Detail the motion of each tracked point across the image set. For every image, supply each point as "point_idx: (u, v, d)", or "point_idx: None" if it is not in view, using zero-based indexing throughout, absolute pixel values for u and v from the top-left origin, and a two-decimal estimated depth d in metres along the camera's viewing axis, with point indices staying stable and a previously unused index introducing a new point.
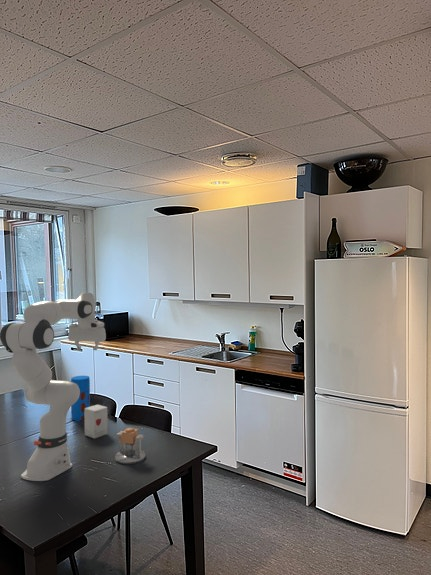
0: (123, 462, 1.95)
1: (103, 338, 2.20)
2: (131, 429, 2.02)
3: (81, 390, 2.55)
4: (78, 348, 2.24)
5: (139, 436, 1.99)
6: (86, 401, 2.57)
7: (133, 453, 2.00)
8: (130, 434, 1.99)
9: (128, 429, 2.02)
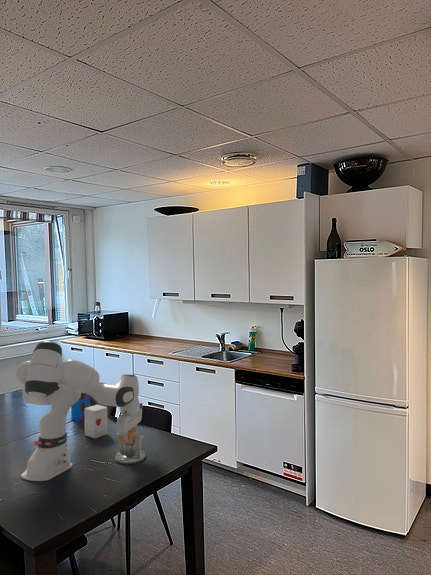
0: (123, 462, 1.95)
1: None
2: (131, 429, 2.02)
3: None
4: (128, 438, 1.98)
5: (139, 436, 1.99)
6: (86, 401, 2.57)
7: (133, 453, 2.00)
8: (130, 434, 1.99)
9: None
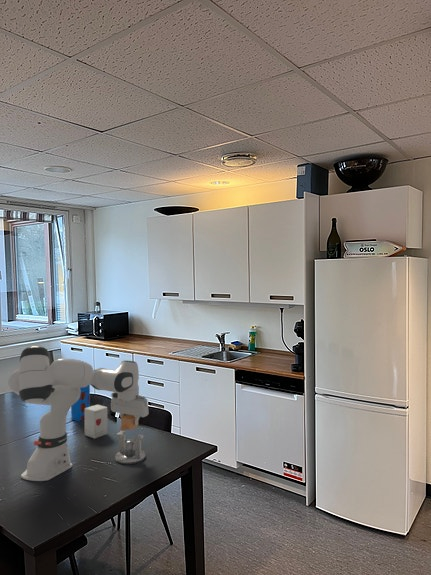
0: (123, 462, 1.95)
1: None
2: (130, 415, 2.02)
3: (81, 390, 2.55)
4: None
5: (139, 436, 1.99)
6: (86, 401, 2.57)
7: (133, 453, 2.00)
8: None
9: (129, 416, 2.01)
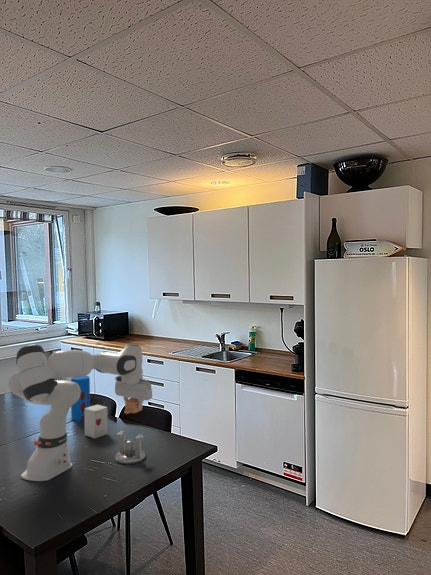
0: (123, 462, 1.95)
1: None
2: (134, 398, 2.03)
3: (81, 390, 2.55)
4: None
5: (139, 436, 1.99)
6: (86, 401, 2.57)
7: (133, 453, 2.00)
8: None
9: (133, 399, 2.01)
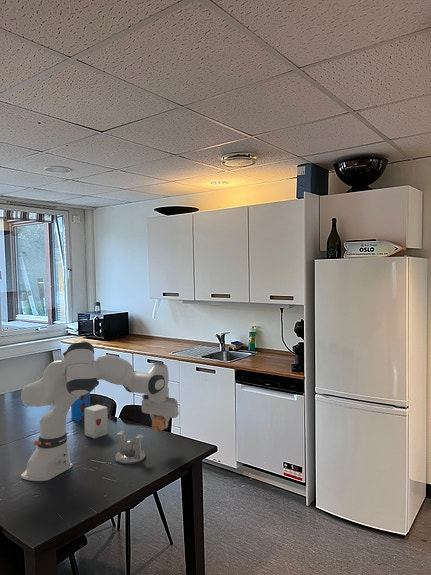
0: (123, 462, 1.95)
1: None
2: None
3: None
4: None
5: (139, 436, 1.99)
6: (86, 401, 2.57)
7: (133, 453, 2.00)
8: None
9: (159, 416, 2.09)
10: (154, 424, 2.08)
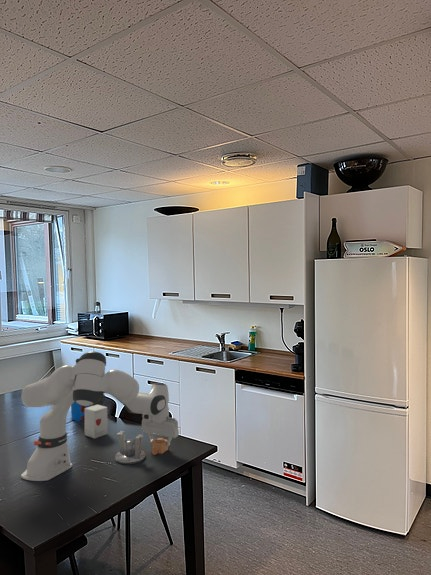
0: (123, 462, 1.95)
1: None
2: (160, 439, 2.11)
3: None
4: None
5: (139, 436, 1.99)
6: None
7: (133, 453, 2.00)
8: None
9: (159, 440, 2.10)
10: (154, 447, 2.08)
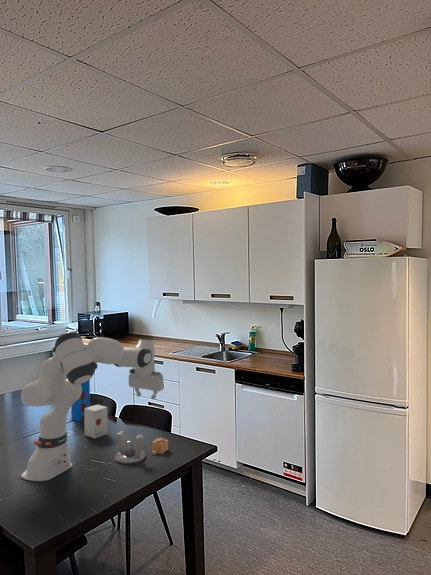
0: (123, 462, 1.95)
1: None
2: (160, 439, 2.11)
3: None
4: None
5: (139, 436, 1.99)
6: (86, 401, 2.57)
7: (133, 453, 2.00)
8: (166, 442, 2.10)
9: (159, 440, 2.10)
10: (154, 447, 2.08)
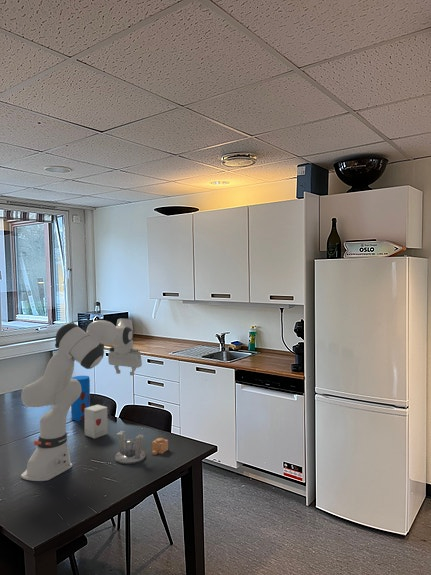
0: (123, 462, 1.95)
1: None
2: (160, 439, 2.11)
3: (81, 390, 2.55)
4: None
5: (139, 436, 1.99)
6: (86, 401, 2.57)
7: (133, 453, 2.00)
8: (166, 442, 2.10)
9: (159, 440, 2.10)
10: (154, 447, 2.08)
